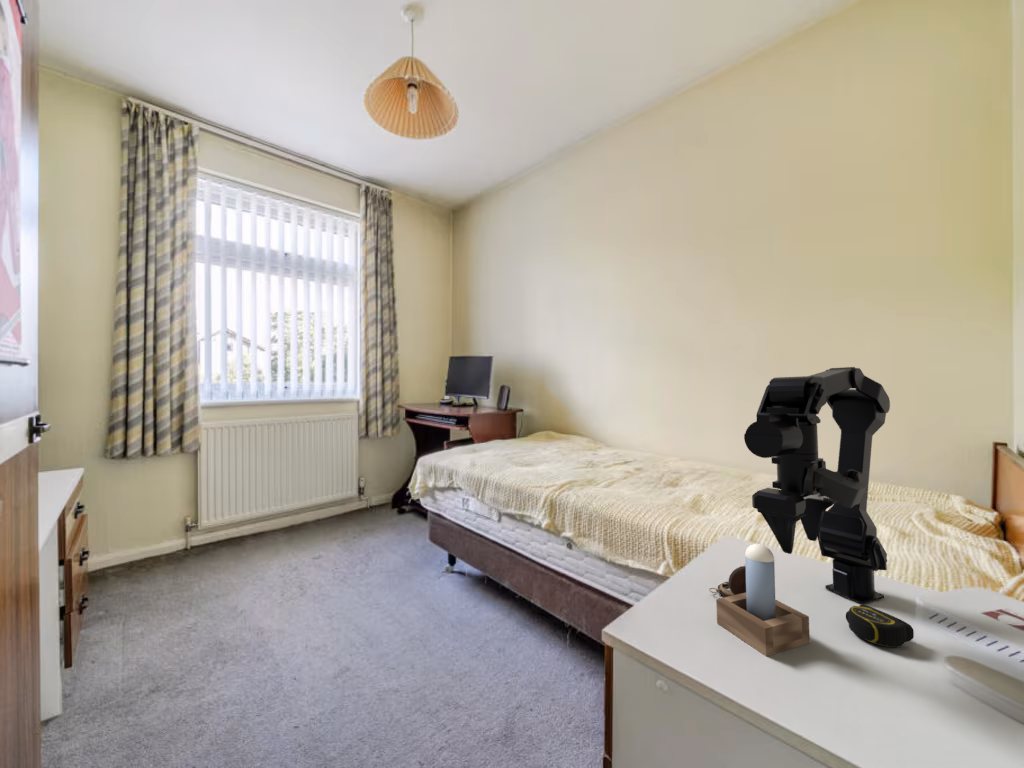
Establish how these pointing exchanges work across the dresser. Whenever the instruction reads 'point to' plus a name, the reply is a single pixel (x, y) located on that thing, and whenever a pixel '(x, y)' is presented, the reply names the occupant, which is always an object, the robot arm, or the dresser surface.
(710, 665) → the dresser surface
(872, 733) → the dresser surface
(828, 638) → the dresser surface
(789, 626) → the open wooden box
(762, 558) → the dome-topped blue cylinder
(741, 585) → the compass
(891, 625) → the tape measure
